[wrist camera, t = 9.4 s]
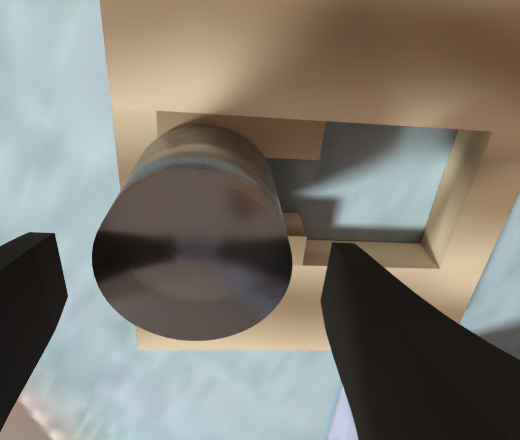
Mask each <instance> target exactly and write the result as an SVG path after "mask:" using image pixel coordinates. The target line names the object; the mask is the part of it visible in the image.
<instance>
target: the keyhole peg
mask: <svg viewBox="0 0 520 440" xmlns="http://www.w3.org/2000/svg"><path fill="white" fill-rule="evenodd" d="M92 266H93V271H94V276H95V279H96V282H97V284H98V287H99V288H100V290H101V292H102V294H103V296H104V297H105V298H106V300H107V301H108V302H109V304H110V305H111V306H112V307H113V308H114V309H115V310H116V311H117V312H118V313H119V314H120V315H121V316H123V317H124V318H125V319H126V320H128V321H130V322H131V323H133V324H134V325H136V326H138V327H140V328H142V329H144V330H146V331H148V332H151V333H153V334H156V335H159V336H163V337H166V338H171V339H176V340H184V341H207V340H216V339H221V338H226V337H229V336H232V335H235V334H238V333H240V332H243V331H245V330H247V329H249V328H251V327H253V326H255V325H256V324H258V323H259V322H260V321H262V320H263V319H265V318H266V317H267V316H268V315H269V314H270V313H271V312H272V311H273V310H274V309H275V308H276V307H277V305H278V304H279V303H280V301H281V300H282V298H283V297H284V295H285V293H286V291H287V289H288V286H289V283H290V280H291V276H292V267H293V263H292V252H291V247H290V243H289V239H288V235H287V231H286V227H285V222H284V218H283V214H282V210H281V206H280V202H279V198H278V194H277V190H276V186H275V181H274V177H273V174H272V171H271V168H270V166H269V164H268V162H267V160H266V158H265V157H264V155H263V154H262V153H261V151H260V150H259V149H258V148H257V147H256V146H255V145H254V144H253V143H252V142H250V141H249V140H248V139H247V138H245V137H244V136H242V135H240V134H239V133H237V132H234V131H232V130H230V129H227V128H224V127H220V126H216V125H210V124H194V125H186V126H182V127H178V128H176V129H173V130H170V131H168V132H166V133H165V134H163V135H161V136H160V137H158V138H157V139H156V140H154V141H153V142H152V143H151V144H150V145H149V146H148V147H147V148H146V150H145V151H144V152H143V154H142V155H141V157H140V158H139V160H138V162H137V164H136V165H135V167H134V169H133V170H132V172H131V174H130V176H129V177H128V179H127V181H126V183H125V184H124V186H123V188H122V189H121V191H120V193H119V195H118V196H117V198H116V200H115V201H114V203H113V205H112V207H111V208H110V210H109V212H108V214H107V215H106V217H105V219H104V220H103V222H102V224H101V226H100V228H99V230H98V232H97V234H96V237H95V240H94V243H93V250H92Z"/></svg>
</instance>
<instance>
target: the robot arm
mask: <svg viewBox="0 0 520 440" xmlns="http://www.w3.org/2000/svg"><path fill="white" fill-rule="evenodd" d="M67 297H68V294H67V289H66V284H65V280H64V275H63V270H62V266H61V261H60V256H59V252H58V247H57V242H56V237H55V233H34V232H29V233H27V234H24V235H22V236H20V237H18V238H16V239H14V240H12V241H10V242H8V243H6V244H4V245H2V246H0V431H1V429H2V428H3V425H4V423H5V422H6V420H7V418H8V416H9V414H10V412H11V410H12V408H13V406H14V404H15V403H16V401H17V399H18V397H19V395H20V394H21V392H22V390H23V388H24V386H25V385H26V383H27V381H28V379H29V377H30V376H31V374H32V372H33V370H34V368H35V367H36V365H37V363H38V361H39V359H40V358H41V356H42V354H43V352H44V350H45V348H46V347H47V345H48V343H49V341H50V339H51V337H52V335H53V333H54V331H55V329H56V327H57V324H58V322H59V319H60V317H61V314H62V311H63V308H64V306H65V303H66V300H67ZM320 302H321V308H322V314H323V319H324V325H325V330H326V334H327V338H328V341H329V344H330V347H331V350H332V354H333V357H334V360H335V363H336V366H337V369H338V372H339V375H340V378H341V381H342V387H341V390H340V394H339V397H338V401H337V404H336V408H335V412H334V415H333V419H332V422H331V426H330V430H329V433H328V437H327V440H520V360H519V359H517V358H515V357H513V356H511V355H510V354H508V353H506V352H504V351H502V350H501V349H499V348H497V347H495V346H494V345H492V344H490V343H488V342H487V341H485V340H483V339H482V338H480V337H479V336H477V335H476V334H474V333H472V332H471V331H469V330H468V329H466V328H464V327H463V326H461V325H460V324H458V323H457V322H455V321H454V320H452V319H451V318H449V317H448V316H446V315H445V314H443V313H442V312H441V311H439V310H438V309H436V308H435V307H434V306H432V305H431V304H430V303H428V302H427V301H426V300H424V299H423V298H421V297H420V296H419V295H418V294H416V293H415V292H414V291H412V290H411V289H410V288H409V287H407V286H406V285H405V284H404V283H402V282H401V281H400V280H399V279H397V278H396V277H395V276H394V275H393V274H391V273H390V272H389V271H388V270H387V269H385V268H384V267H383V266H382V265H381V264H379V263H378V262H377V261H376V260H375V259H373V258H372V257H371V256H370V255H369V254H368V253H366V252H365V251H364V250H363V249H361V248H360V247H359V246H357V245H356V244H355V243H337V242H332V245H331V250H330V255H329V260H328V265H327V270H326V275H325V280H324V285H323V290H322V295H321V300H320Z"/></svg>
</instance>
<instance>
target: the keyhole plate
mask: <svg viewBox="0 0 520 440" xmlns="http://www.w3.org/2000/svg"><path fill="white" fill-rule="evenodd" d="M100 7H101V16H102V25H103V34H104V44H105V53H106V62H107V71H108V80H109V89H110V98H111V108H112V117H113V126H114V135H115V144H116V153H117V162H118V172H119V181H120V190H121V189H122V188H123V186H124V184H125V183H126V181H127V179H128V177H129V176H130V174H131V172H132V170H133V169H134V167H135V165H136V164H137V162H138V160H139V158H140V157H141V155H142V154H143V152H144V151H145V150H146V148H147V147H148V146H149V145H150V144H151V143H152V142H153V141H154V140H156V139H157V138H158V137H160V136H161V135H163V134H165V133H166V132H168V131H170V130H173V129H176V128H178V127H182V126H186V125H194V124H210V125H216V126H220V127H224V128H227V129H230V130H232V131H234V132H237V133H239V134H240V135H242V136H244V137H245V138H247V139H248V140H249V141H250V142H252V143H253V144H254V145H255V146H256V147H257V148H258V149H259V150H260V151H261V153H262V154H263V155H264V157H265V158H283V159H302V160H320V154H321V148H322V142H323V136H324V130H325V124H326V121H331V122H347V123H363V124H379V125H395V126H411V127H427V128H443V129H458V132H457V135H456V138H455V141H454V144H453V147H452V150H451V153H450V156H449V159H448V162H447V165H446V168H445V171H444V174H443V176H442V179H441V182H440V185H439V188H438V191H437V194H436V197H435V200H434V203H433V206H432V209H431V212H430V215H429V218H428V221H427V224H426V227H425V230H424V233H423V236H422V239H421V242H420V243H392V242H360V241H328V240H307V235H306V232H305V229H304V226H303V223H302V220H301V217H300V214H299V213H294V212H282V214H283V218H284V222H285V227H286V231H287V235H288V239H289V243H290V247H291V252H292V263H293V267H292V276H291V280H290V283H289V286H288V289H287V291H286V293H285V295H284V297H283V298H282V300H281V301H280V303H279V304H278V305H277V307H276V308H275V309H274V310H273V311H272V312H271V313H270V314H269V315H268V316H267V317H266V318H265V319H263V320H262V321H260V322H259V323H258V324H256V325H255V326H253V327H251V328H249V329H247V330H245V331H243V332H240V333H238V334H235V335H232V336H229V337H226V338H221V339H216V340H207V341H184V340H176V339H171V338H166V337H163V336H159V335H156V334H153V333H151V332H148V331H146V330H144V329H142V328H140V327H138V326H136V325H135V327H136V336H137V345H138V350H331V347H330V344H329V341H328V338H327V334H326V330H325V325H324V319H323V314H322V308H321V302H320V300H321V295H322V290H323V285H324V280H325V275H326V270H327V265H328V260H329V255H330V250H331V245H332V242H337V243H355V244H356V245H357V246H359V247H360V248H361V249H363V250H364V251H365V252H366V253H368V254H369V255H370V256H371V257H372V258H373V259H375V260H376V261H377V262H378V263H379V264H381V265H382V266H383V267H384V268H385V269H387V270H388V271H389V272H390V273H391V274H393V275H394V276H395V277H396V278H397V279H399V280H400V281H401V282H402V283H404V284H405V285H406V286H407V287H409V288H410V289H411V290H412V291H414V292H415V293H416V294H418V295H419V296H420V297H421V298H423V299H424V300H426V301H427V302H428V303H430V304H431V305H432V306H434V307H435V308H436V309H438V310H439V311H441V312H442V313H443V314H445V315H446V316H448V317H449V318H451V319H452V320H454V321H455V322H457V323H458V324H459V323H460V321H461V319H462V317H463V314H464V312H465V310H466V308H467V306H468V303H469V301H470V299H471V297H472V295H473V292H474V290H475V288H476V286H477V284H478V281H479V279H480V277H481V275H482V272H483V270H484V268H485V266H486V264H487V261H488V259H489V257H490V255H491V253H492V250H493V248H494V246H495V244H496V242H497V239H498V237H499V235H500V233H501V231H502V228H503V226H504V224H505V222H506V220H507V217H508V215H509V213H510V211H511V209H512V206H513V204H514V202H515V200H516V197H517V195H518V193H519V191H520V0H100Z"/></svg>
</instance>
